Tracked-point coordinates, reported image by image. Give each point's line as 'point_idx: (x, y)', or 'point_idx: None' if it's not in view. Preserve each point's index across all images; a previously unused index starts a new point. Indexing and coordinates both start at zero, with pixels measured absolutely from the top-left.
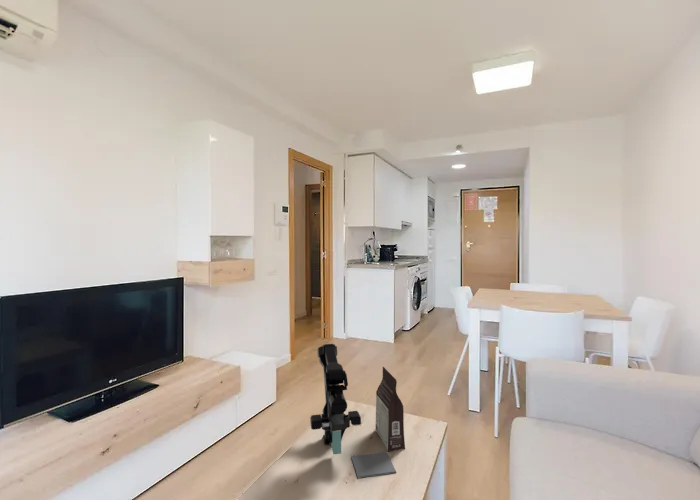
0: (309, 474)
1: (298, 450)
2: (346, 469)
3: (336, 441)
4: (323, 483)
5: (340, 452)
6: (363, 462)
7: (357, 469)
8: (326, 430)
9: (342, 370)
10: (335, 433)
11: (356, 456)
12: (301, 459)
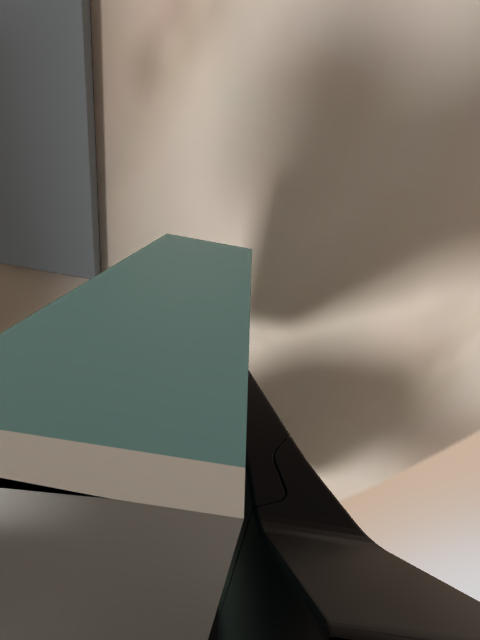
0: (458, 201)
1: (396, 445)
2: (165, 146)
3: (187, 286)
4: (418, 17)
5: (171, 236)
6: (5, 159)
7: (68, 76)
8: (428, 580)
9: None
10: (159, 388)
11: (57, 257)
12: (421, 372)
